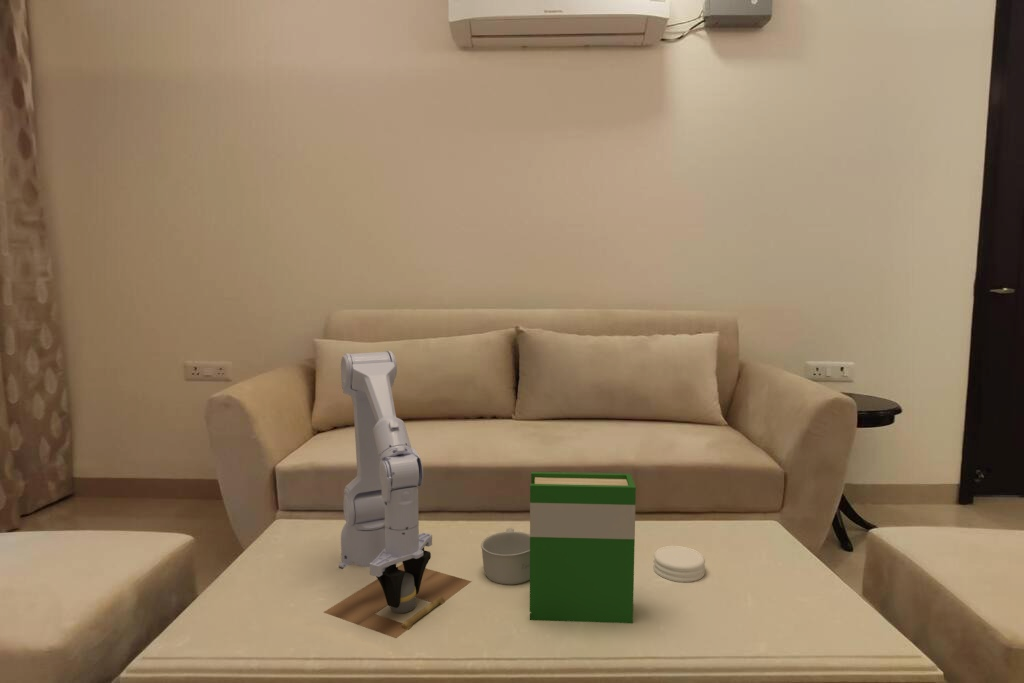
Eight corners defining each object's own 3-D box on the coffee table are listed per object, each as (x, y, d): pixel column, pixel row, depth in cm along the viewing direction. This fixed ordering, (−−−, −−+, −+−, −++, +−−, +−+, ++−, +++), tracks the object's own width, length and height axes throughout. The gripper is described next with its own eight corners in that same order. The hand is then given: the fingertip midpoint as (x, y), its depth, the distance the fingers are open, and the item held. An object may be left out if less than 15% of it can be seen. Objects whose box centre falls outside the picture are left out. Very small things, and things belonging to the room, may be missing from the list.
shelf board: (323, 620, 113) (323, 606, 112) (405, 569, 132) (404, 557, 131) (396, 647, 105) (396, 632, 105) (472, 588, 124) (471, 576, 124)
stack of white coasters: (692, 588, 124) (693, 571, 124) (644, 573, 131) (645, 557, 130) (712, 569, 132) (712, 552, 132) (666, 556, 138) (666, 540, 138)
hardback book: (529, 620, 113) (530, 485, 110) (530, 598, 120) (531, 471, 118) (632, 623, 112) (635, 487, 109) (627, 601, 119) (630, 473, 117)
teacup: (532, 596, 121) (532, 555, 120) (475, 591, 123) (475, 550, 122) (543, 563, 135) (543, 526, 134) (492, 559, 137) (492, 522, 136)
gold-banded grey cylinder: (404, 616, 111) (401, 589, 110) (384, 608, 114) (381, 582, 113) (422, 602, 115) (420, 576, 114) (403, 595, 118) (400, 569, 117)
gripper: (392, 543, 104) (394, 624, 106) (445, 514, 117) (446, 586, 118) (359, 535, 108) (361, 613, 109) (414, 507, 120) (415, 577, 122)
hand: (403, 598), depth 114 cm, fingers closed on gold-banded grey cylinder, 5 cm apart
